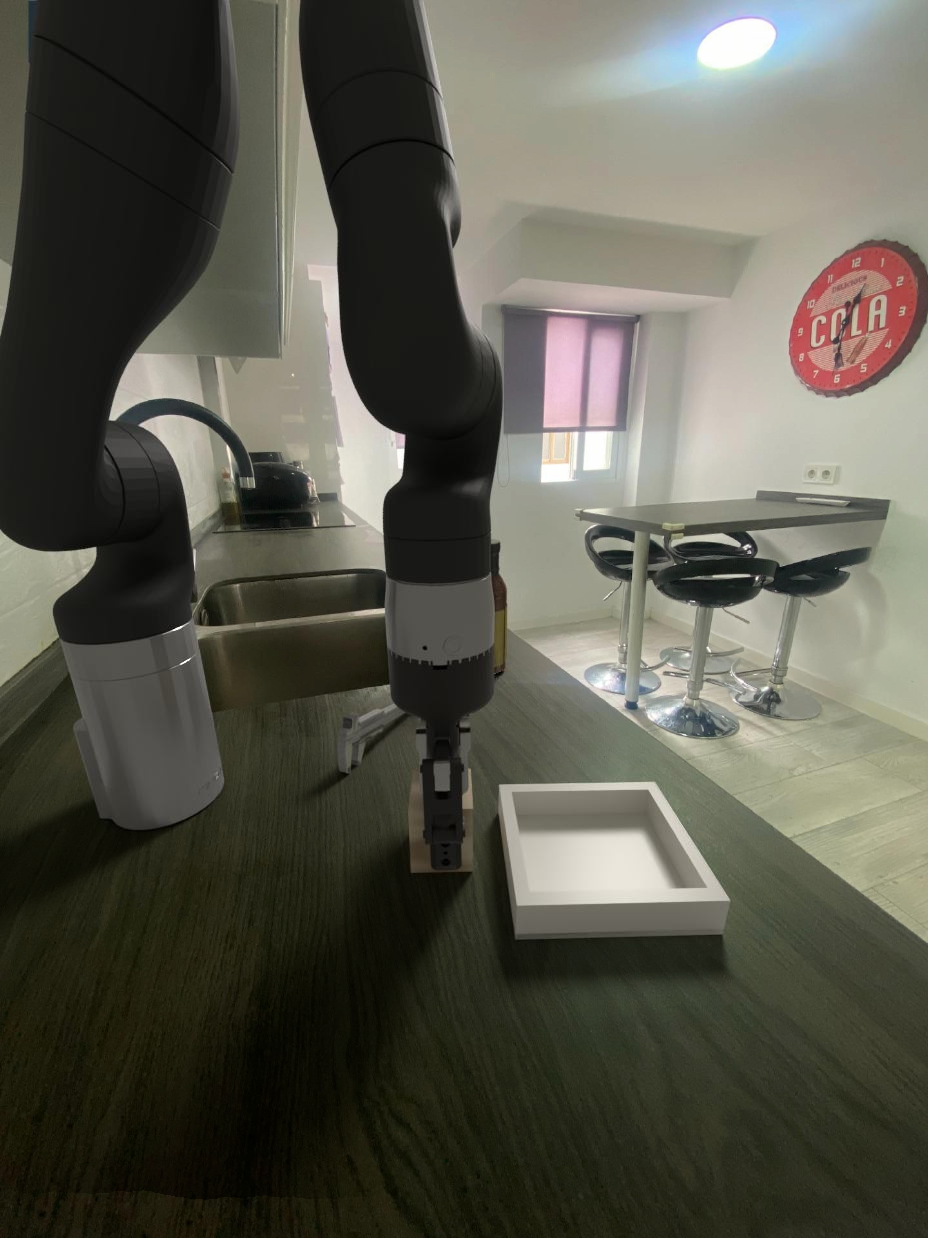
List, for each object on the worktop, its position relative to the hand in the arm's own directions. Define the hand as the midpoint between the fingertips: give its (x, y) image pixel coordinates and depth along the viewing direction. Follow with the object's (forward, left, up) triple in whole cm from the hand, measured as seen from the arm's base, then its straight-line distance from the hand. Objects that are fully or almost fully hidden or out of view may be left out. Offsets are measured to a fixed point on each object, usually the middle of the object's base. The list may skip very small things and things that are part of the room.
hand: (446, 823), depth 38 cm
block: (0, 0, -3) cm, 3 cm away
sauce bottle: (+6, +35, -3) cm, 36 cm away
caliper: (-6, +19, -3) cm, 20 cm away
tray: (+12, -2, -3) cm, 12 cm away
